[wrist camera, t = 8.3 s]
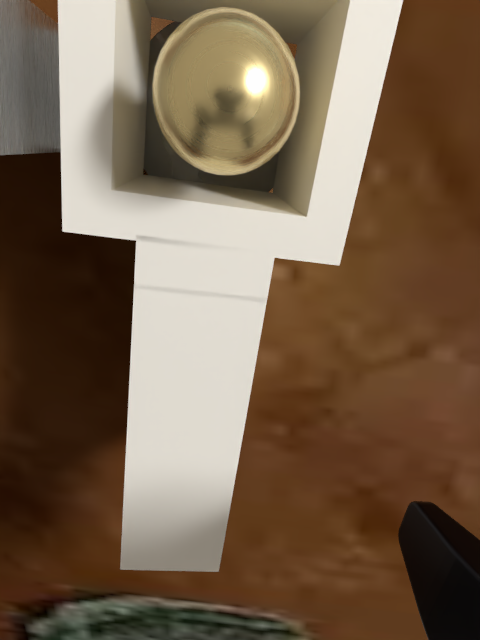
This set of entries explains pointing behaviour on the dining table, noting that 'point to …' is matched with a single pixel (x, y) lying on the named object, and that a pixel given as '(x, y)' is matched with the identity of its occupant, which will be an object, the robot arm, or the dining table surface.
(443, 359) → the dining table surface
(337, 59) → the square loop paddle
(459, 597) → the robot arm
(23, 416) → the dining table surface
